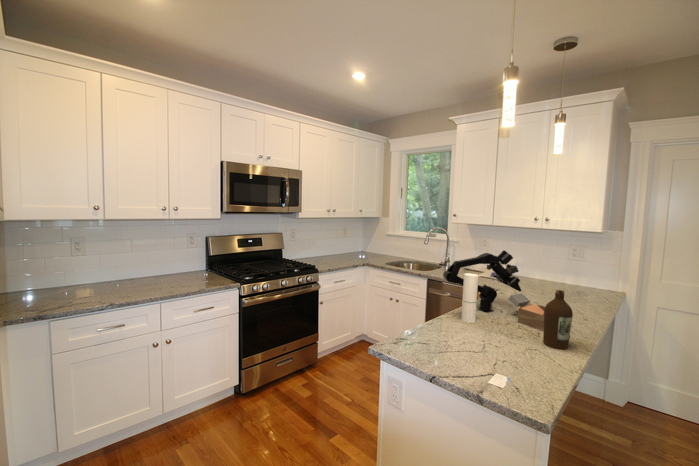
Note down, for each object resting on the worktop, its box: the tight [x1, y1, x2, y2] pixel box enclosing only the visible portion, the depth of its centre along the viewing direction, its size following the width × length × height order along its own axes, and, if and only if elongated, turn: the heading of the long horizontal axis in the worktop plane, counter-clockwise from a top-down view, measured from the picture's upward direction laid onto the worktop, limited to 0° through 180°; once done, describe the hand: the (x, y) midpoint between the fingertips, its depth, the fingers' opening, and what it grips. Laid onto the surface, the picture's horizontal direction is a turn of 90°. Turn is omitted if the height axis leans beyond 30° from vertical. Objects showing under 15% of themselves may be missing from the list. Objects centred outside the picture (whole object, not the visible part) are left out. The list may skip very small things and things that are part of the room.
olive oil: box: [542, 289, 574, 351], centre depth 142 cm, size 11×11×25 cm
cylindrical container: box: [460, 272, 479, 324], centre depth 170 cm, size 7×7×25 cm
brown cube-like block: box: [519, 302, 533, 308], centre depth 188 cm, size 6×6×5 cm
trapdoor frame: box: [517, 304, 545, 332], centre depth 169 cm, size 18×14×8 cm
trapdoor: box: [508, 293, 544, 315], centre depth 173 cm, size 14×23×3 cm
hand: (516, 289), depth 188 cm, fingers open, 9 cm apart
